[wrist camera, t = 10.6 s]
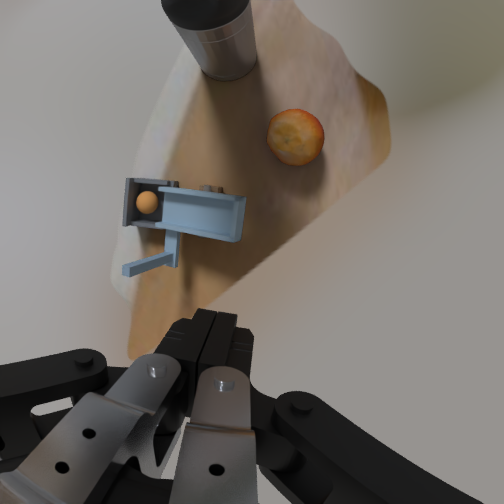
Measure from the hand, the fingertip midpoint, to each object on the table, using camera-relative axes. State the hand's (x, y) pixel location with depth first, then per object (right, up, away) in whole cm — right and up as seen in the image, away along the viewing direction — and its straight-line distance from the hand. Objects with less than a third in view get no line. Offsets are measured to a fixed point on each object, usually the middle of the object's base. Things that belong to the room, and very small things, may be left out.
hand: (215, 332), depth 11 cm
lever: (-6, +6, +29) cm, 30 cm away
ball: (-15, +11, +32) cm, 37 cm away
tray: (-14, +11, +34) cm, 39 cm away
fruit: (+8, +20, +31) cm, 38 cm away
